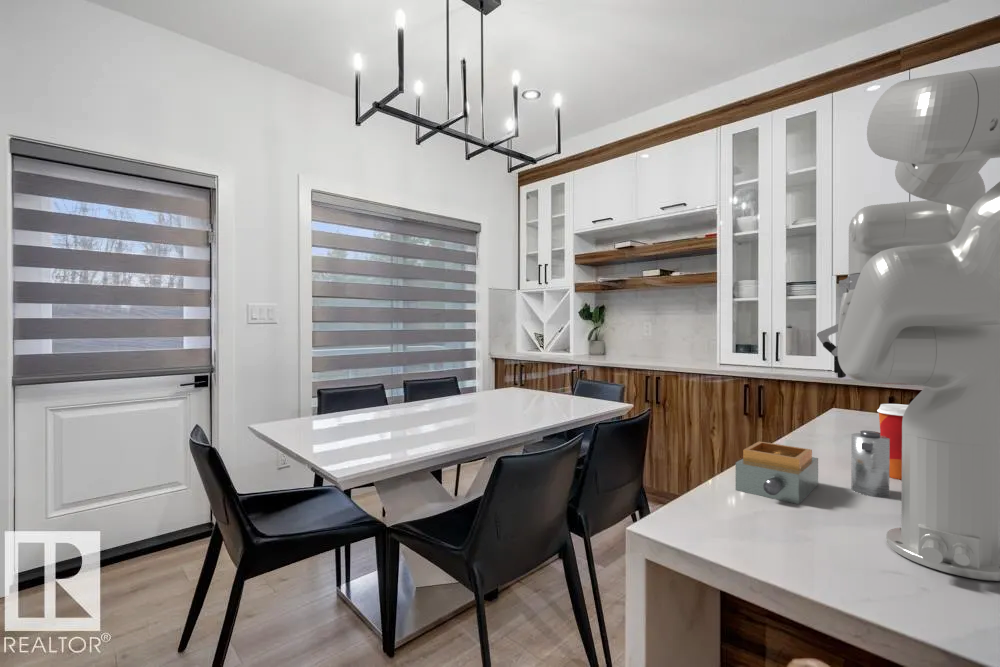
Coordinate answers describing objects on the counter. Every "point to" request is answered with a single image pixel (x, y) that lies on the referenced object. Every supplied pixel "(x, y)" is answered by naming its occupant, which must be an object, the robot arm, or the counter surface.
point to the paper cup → (893, 434)
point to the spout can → (870, 463)
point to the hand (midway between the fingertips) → (874, 379)
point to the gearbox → (777, 471)
